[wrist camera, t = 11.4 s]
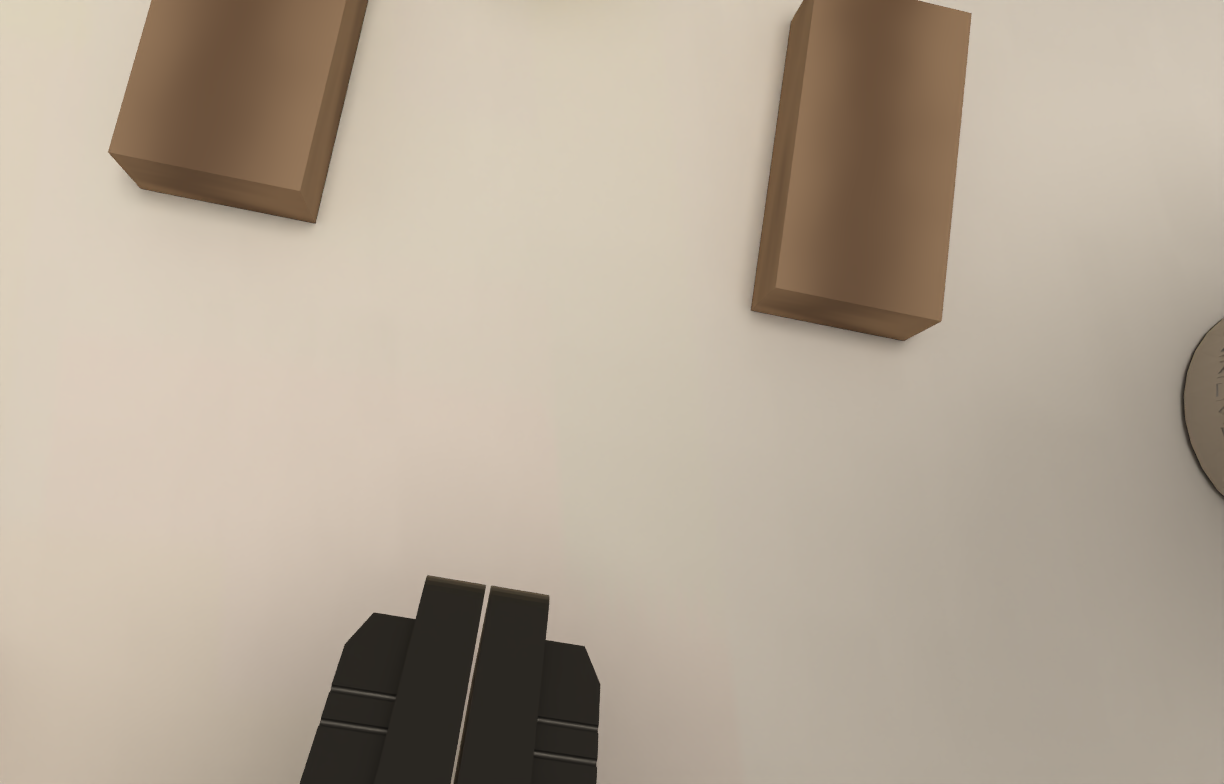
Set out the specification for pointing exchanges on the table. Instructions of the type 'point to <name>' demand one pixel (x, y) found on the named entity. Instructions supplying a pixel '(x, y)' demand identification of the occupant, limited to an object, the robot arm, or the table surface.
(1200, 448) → the robot arm
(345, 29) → the pair of brown boards
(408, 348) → the table surface
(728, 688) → the table surface
